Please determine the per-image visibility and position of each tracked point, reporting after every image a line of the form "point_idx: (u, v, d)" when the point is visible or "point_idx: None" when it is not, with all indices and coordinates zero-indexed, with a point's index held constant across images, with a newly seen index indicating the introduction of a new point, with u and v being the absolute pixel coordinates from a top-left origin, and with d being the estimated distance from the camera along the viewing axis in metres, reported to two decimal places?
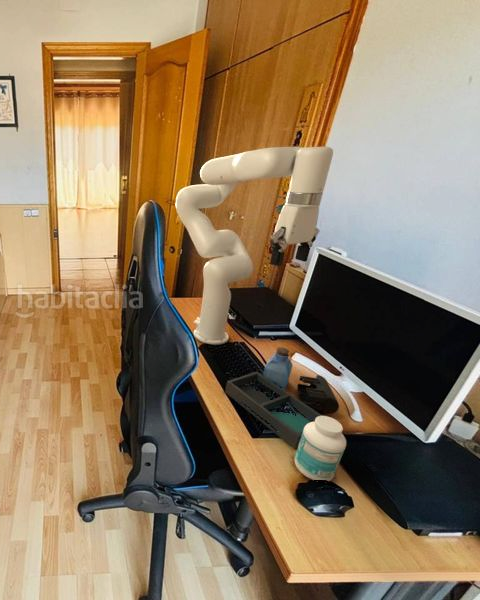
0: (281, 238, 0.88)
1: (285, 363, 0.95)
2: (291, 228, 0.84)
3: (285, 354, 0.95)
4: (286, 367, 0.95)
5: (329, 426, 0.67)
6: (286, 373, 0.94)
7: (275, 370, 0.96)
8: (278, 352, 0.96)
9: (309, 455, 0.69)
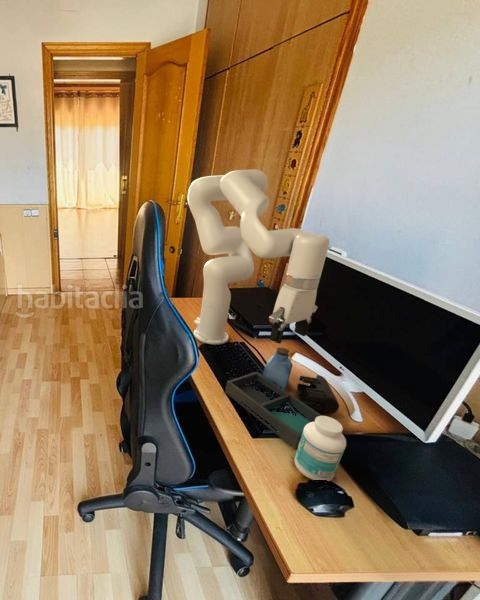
0: (280, 316, 0.90)
1: (285, 363, 0.95)
2: (290, 310, 0.86)
3: (285, 354, 0.95)
4: (286, 367, 0.95)
5: (329, 426, 0.67)
6: (286, 373, 0.94)
7: (275, 370, 0.96)
8: (278, 352, 0.96)
9: (309, 455, 0.69)
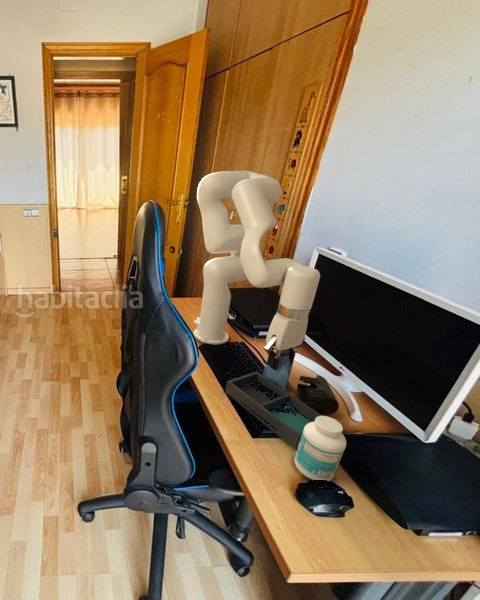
0: None
1: (285, 363, 0.95)
2: (282, 338, 0.90)
3: (285, 354, 0.95)
4: (286, 367, 0.95)
5: (329, 426, 0.67)
6: (286, 373, 0.94)
7: (275, 370, 0.96)
8: None
9: (309, 455, 0.69)
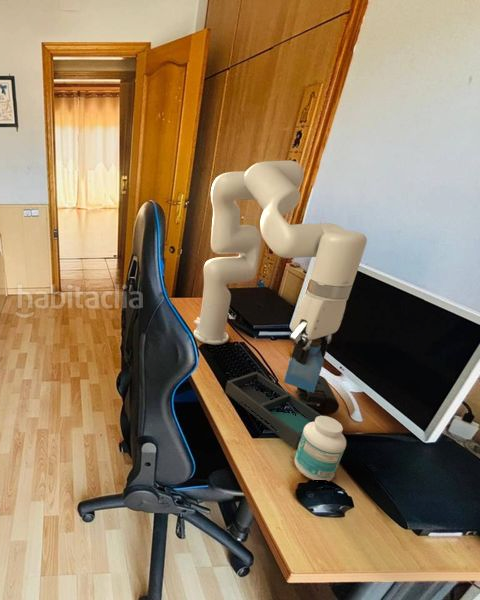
0: None
1: (316, 356, 0.76)
2: (314, 323, 0.71)
3: (316, 344, 0.75)
4: (318, 361, 0.75)
5: (329, 426, 0.67)
6: (318, 368, 0.75)
7: None
8: None
9: (309, 455, 0.69)
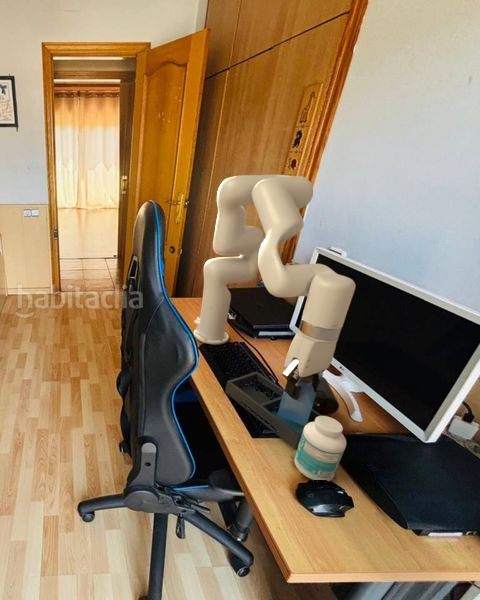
0: None
1: (308, 391, 0.78)
2: (305, 362, 0.73)
3: (308, 380, 0.78)
4: (309, 396, 0.78)
5: (329, 426, 0.67)
6: (309, 404, 0.77)
7: None
8: None
9: (309, 455, 0.69)
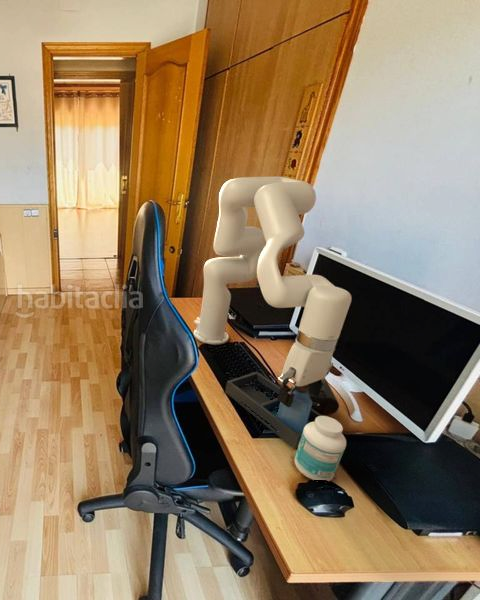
0: None
1: (304, 401, 0.80)
2: (302, 372, 0.74)
3: (304, 391, 0.79)
4: (306, 406, 0.79)
5: (329, 426, 0.67)
6: (306, 414, 0.79)
7: (292, 409, 0.80)
8: (296, 388, 0.80)
9: (309, 455, 0.69)
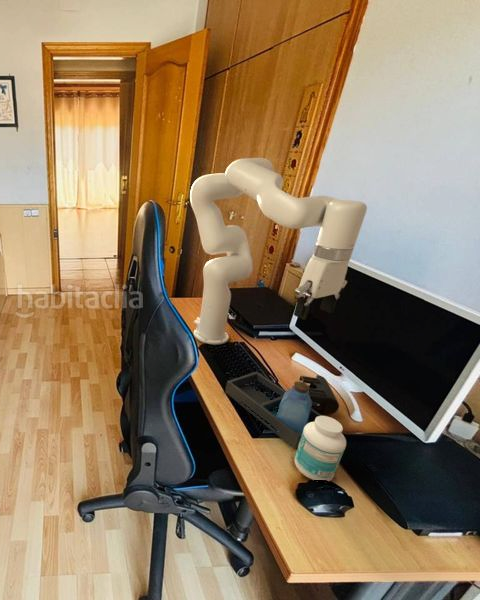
0: (306, 290, 0.85)
1: (304, 401, 0.80)
2: (318, 283, 0.80)
3: (304, 391, 0.79)
4: (306, 406, 0.79)
5: (329, 426, 0.67)
6: (306, 414, 0.79)
7: (292, 409, 0.80)
8: (296, 388, 0.80)
9: (309, 455, 0.69)
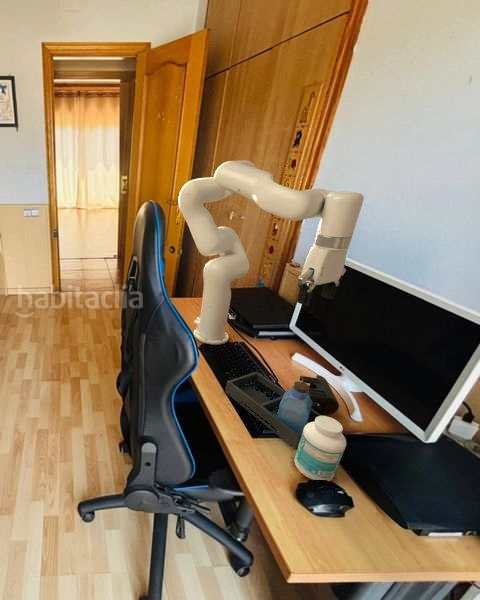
0: (309, 278, 0.89)
1: (304, 401, 0.80)
2: (320, 270, 0.85)
3: (304, 391, 0.79)
4: (306, 406, 0.79)
5: (329, 426, 0.67)
6: (306, 414, 0.79)
7: (292, 409, 0.80)
8: (296, 388, 0.80)
9: (309, 455, 0.69)
